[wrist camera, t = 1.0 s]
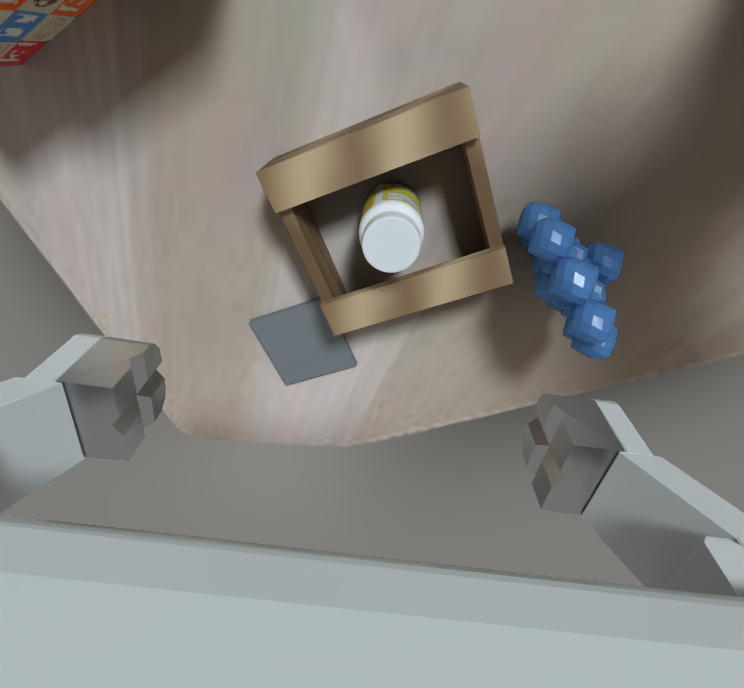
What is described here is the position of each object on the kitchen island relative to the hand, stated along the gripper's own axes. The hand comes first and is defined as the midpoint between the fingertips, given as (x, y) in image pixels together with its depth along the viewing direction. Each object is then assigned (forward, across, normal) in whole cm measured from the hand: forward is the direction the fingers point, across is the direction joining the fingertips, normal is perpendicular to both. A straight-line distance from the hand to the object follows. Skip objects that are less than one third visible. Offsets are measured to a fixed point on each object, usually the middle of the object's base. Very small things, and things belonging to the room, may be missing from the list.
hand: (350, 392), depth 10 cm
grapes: (+30, -16, +5) cm, 34 cm away
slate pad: (+30, +5, +18) cm, 36 cm away
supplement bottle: (+30, -2, +4) cm, 30 cm away
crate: (+30, -2, +4) cm, 30 cm away
